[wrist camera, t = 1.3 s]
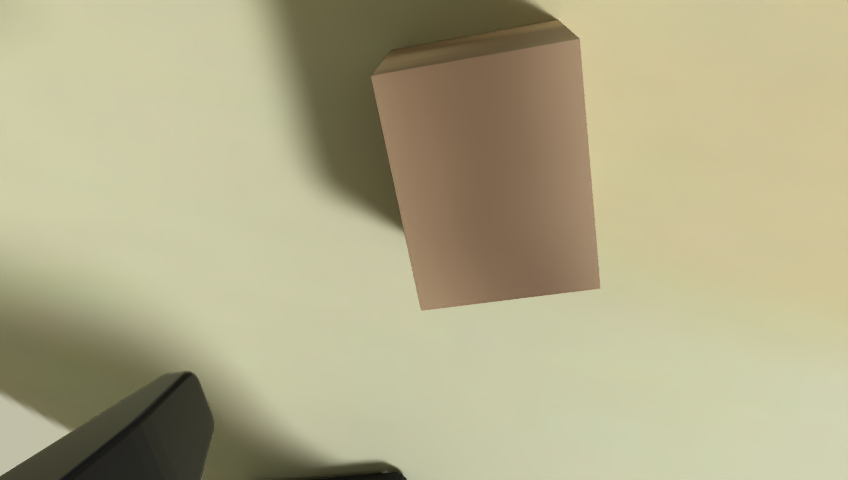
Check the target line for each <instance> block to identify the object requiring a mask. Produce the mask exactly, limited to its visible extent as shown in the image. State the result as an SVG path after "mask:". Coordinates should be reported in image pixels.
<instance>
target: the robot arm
mask: <svg viewBox="0 0 848 480" xmlns="http://www.w3.org/2000/svg"><path fill="white" fill-rule="evenodd" d="M213 429H214V421H213V416H212V412H211V410H210V407H209V405H208V402H207V400H206V397H205V395H204V392H203V389H202V387H201V384H200V382H199V380H198V378H197V376H196V375H195V374H194V373H192V372H190V371H184V372H175V373H167V374H164V375H162V376H160V377H158V378H157V379H155V380H154V381H152V382H150V383H149V384H147V385H146V386H144V387H142V388H141V389H139V390H138V391H136V392H134V393H133V394H131V395H130V396H128V397H126V398H125V399H123V400H122V401H120V402H118V403H117V404H115V405H114V406H112V407H110V408H109V409H107V410H106V411H104V412H102V413H101V414H99V415H98V416H96V417H94V418H93V419H91V420H90V421H88V422H86V423H85V424H83V425H82V426H80V427H78V428H77V429H75V430H74V431H72V432H70V433H69V434H67V435H66V436H64V437H62V438H61V439H59V440H58V441H56V442H54V443H53V444H51V445H50V446H48V447H46V448H45V449H43V450H42V451H40V452H38V453H37V454H35V455H34V456H32V457H31V458H29V459H27V460H26V461H24V462H22V463H21V464H19V465H18V466H16V467H14V468H13V469H11V470H10V471H8V472H6V473H5V474H3V475H2V476H0V480H201V477H202V473H203V469H204V465H205V461H206V458H207V454H208V450H209V446H210V442H211V439H212V435H213ZM314 480H407V479H406V478H405V477H404V476H403V475H401V474H399V473H383V474H371V475H360V476H348V477H337V478H326V479H314Z"/></svg>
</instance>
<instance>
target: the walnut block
mask: <svg viewBox="0 0 848 480" xmlns="http://www.w3.org/2000/svg"><path fill="white" fill-rule="evenodd" d="M371 80H372V84H373V89H374V94H375V98H376V103H377V108H378V112H379V117H380V121H381V126H382V131H383V135H384V140H385V145H386V149H387V154H388V159H389V163H390V168H391V173H392V177H393V182H394V187H395V191H396V196H397V201H398V205H399V210H400V215H401V219H402V224H403V229H404V233H405V238H406V242H407V247H408V252H409V256H410V261H411V266H412V270H413V275H414V280H415V284H416V289H417V294H418V298H419V303H420V308H421V310H429V309H438V308H446V307H454V306H462V305H470V304H478V303H486V302H494V301H502V300H511V299H519V298H527V297H535V296H543V295H551V294H559V293H567V292H575V291H583V290H592V289H600V279H599V267H598V255H597V243H596V231H595V219H594V207H593V195H592V183H591V171H590V159H589V147H588V135H587V123H586V111H585V99H584V87H583V74H582V62H581V50H580V39H579V38H578V37H577V36H576V35H575V34H574V33H572V32H571V31H570V30H569V29H568V28H567V27H566V26H564V25H563V24H562V23H561V22H560V21H559V20H553V21H548V22H542V23H537V24H531V25H526V26H520V27H515V28H509V29H504V30H498V31H493V32H487V33H482V34H476V35H471V36H465V37H460V38H455V39H449V40H444V41H438V42H433V43H427V44H422V45H416V46H411V47H405V48H400V49H394V50H391V51H390V52H389V54H388V55H387V56H386V57H385V59H384V60H383V61H382V62H381V64H380V65H379V66H378V67H377V69H376V70H375V71H374V72H373V74H372V75H371Z"/></svg>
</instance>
